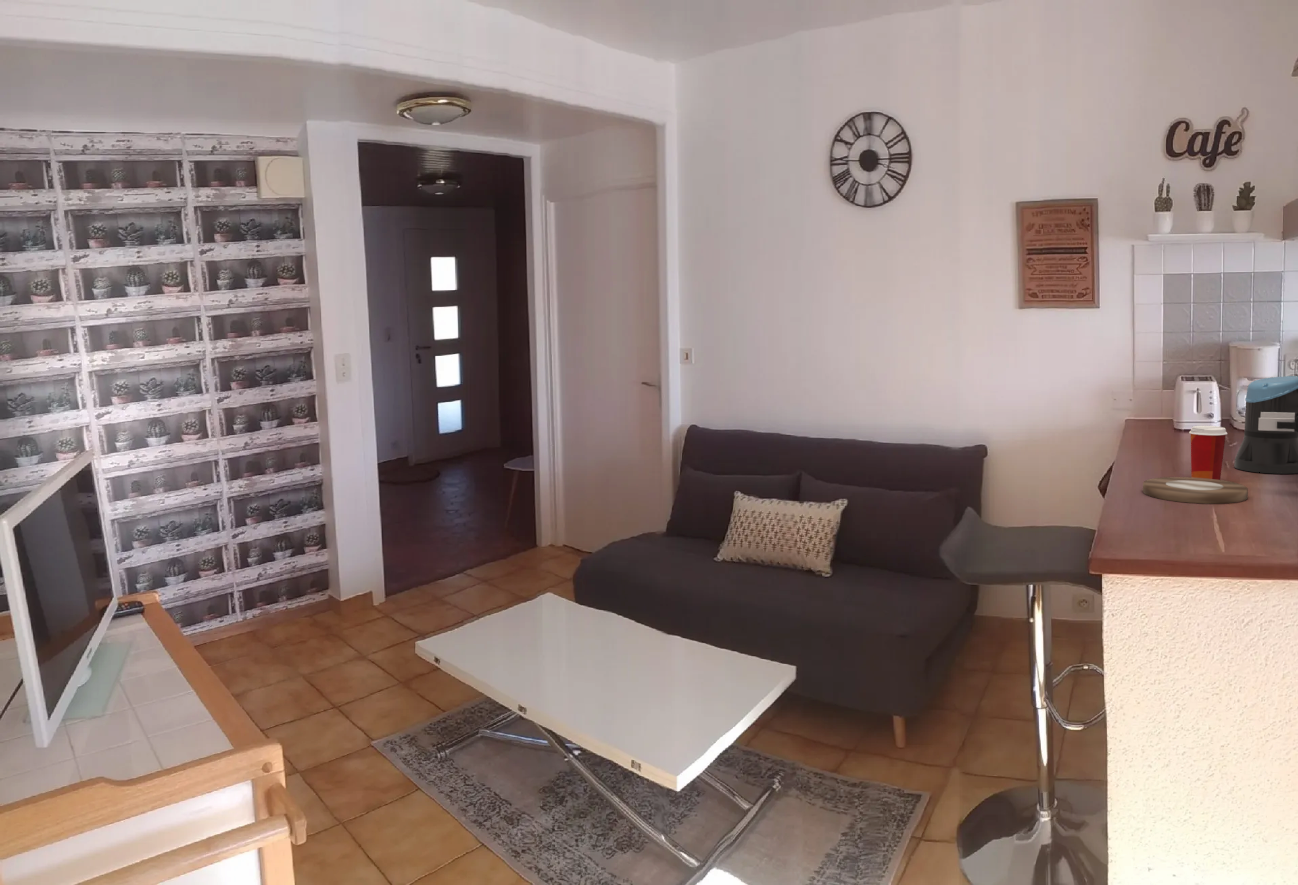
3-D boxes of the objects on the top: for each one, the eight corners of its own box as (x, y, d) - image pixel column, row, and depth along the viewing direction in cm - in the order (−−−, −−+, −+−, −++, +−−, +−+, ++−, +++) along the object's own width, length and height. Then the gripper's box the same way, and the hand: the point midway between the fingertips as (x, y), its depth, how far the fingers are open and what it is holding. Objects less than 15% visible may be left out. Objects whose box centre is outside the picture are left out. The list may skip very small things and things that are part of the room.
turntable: (1148, 482, 217) (1149, 474, 217) (1249, 489, 205) (1249, 480, 205) (1136, 498, 201) (1137, 489, 200) (1245, 507, 189) (1245, 497, 189)
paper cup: (1214, 482, 220) (1217, 425, 218) (1231, 488, 212) (1234, 429, 210) (1179, 483, 221) (1182, 425, 219) (1195, 489, 213) (1198, 429, 211)
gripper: (1381, 448, 186) (1256, 443, 198) (1373, 434, 206) (1260, 431, 219) (1384, 411, 185) (1258, 409, 197) (1375, 401, 206) (1262, 400, 218)
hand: (1259, 420), depth 208 cm, fingers open, 13 cm apart
